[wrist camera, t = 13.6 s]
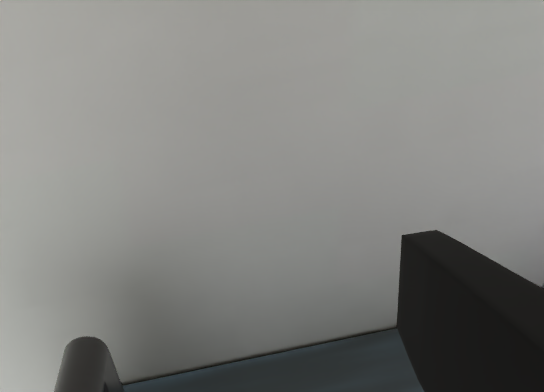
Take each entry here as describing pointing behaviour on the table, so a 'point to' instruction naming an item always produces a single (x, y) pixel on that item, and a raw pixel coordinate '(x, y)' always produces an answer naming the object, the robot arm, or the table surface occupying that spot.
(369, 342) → the door
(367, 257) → the table surface
